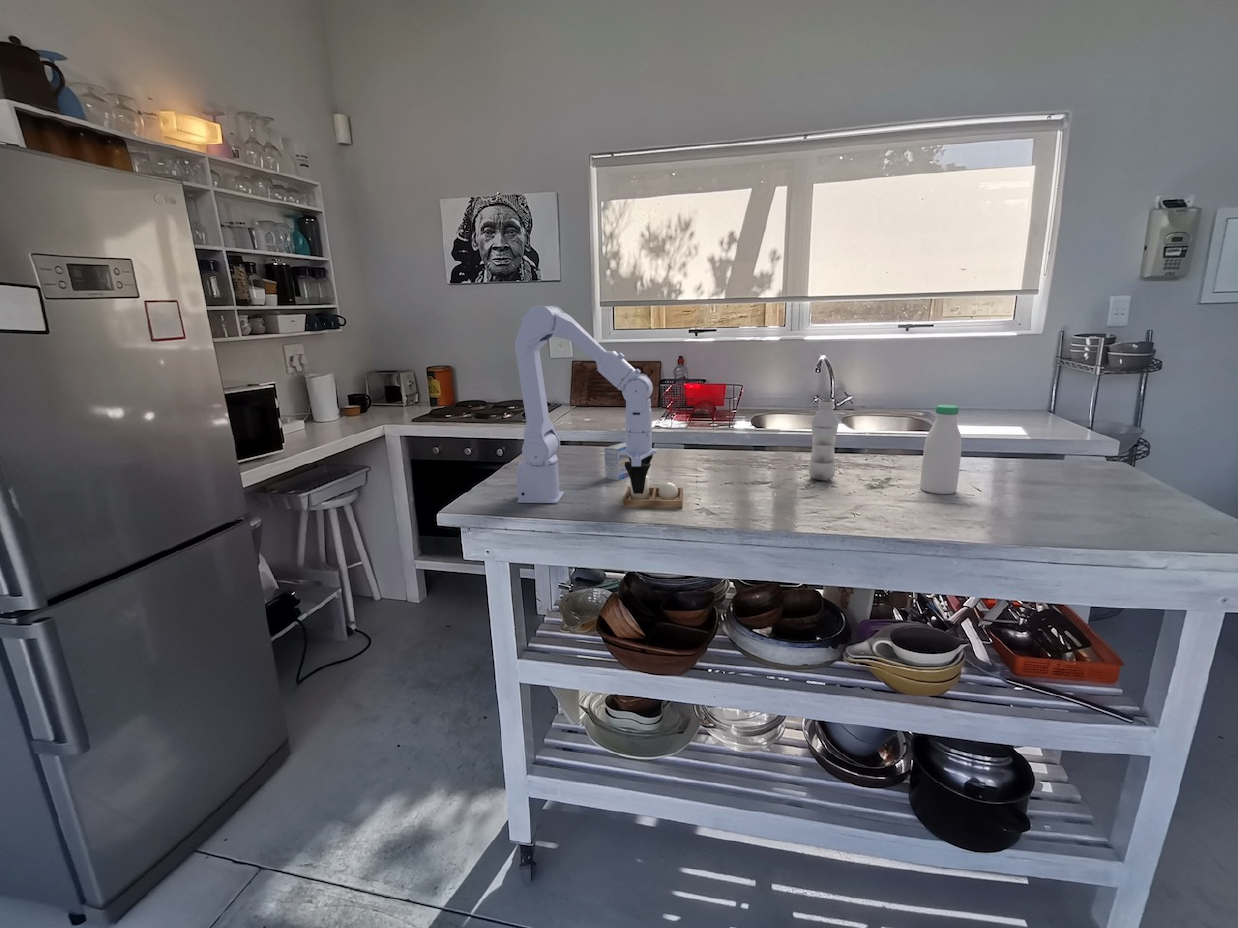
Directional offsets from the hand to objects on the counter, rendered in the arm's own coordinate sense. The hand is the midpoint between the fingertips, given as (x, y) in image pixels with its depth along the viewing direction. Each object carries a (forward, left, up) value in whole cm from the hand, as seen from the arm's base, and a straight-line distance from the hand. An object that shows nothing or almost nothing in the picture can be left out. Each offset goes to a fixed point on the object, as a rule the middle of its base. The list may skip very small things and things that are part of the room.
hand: (639, 489), depth 138 cm
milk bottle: (+69, +13, -3) cm, 70 cm away
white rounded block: (0, 0, -3) cm, 3 cm away
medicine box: (-7, +21, -3) cm, 22 cm away
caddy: (+3, 0, -3) cm, 5 cm away
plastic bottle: (+44, +21, -3) cm, 49 cm away
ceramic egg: (+7, 0, -3) cm, 7 cm away
